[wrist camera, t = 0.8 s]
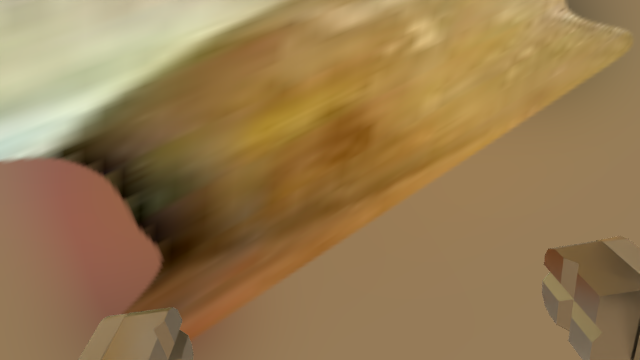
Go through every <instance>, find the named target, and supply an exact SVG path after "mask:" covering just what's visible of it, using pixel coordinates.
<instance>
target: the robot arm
mask: <svg viewBox="0 0 640 360" xmlns="http://www.w3.org/2000/svg"><path fill="white" fill-rule="evenodd" d="M544 265H545V266H546V267H547V268H548V270H549V271H550V273H549V274H548V275H547V276H546V277H545V279H544V280H543V283H542V295H543V299H544V303H545V307H546V309H547V310H548V312H549V315H550V316H551V318H552V319H553V320H554V322H555V323H556V325H559V326H561V327H562V328H564V329H566V330H568V331H570V333H569V342H570V344H571V345H572V346H573V348H574V349H575V350H576V352H577V353H578V354H579V356H580V357H581V358H582V359H583V360H640V248H639V247H638V246H637V245H635V244H634V243H633V242H632V241H630V240H629V239H627V238H624V237H622V236H618V237H612V238H607V239H601V240H596V241H594V242H587V243H581V244H575V245H568V246H562V247H556V248H550V249H548V250H547V252H546V254H545V262H544ZM181 323H182V319H181V317H180V314H179V312H178V310H177V309H175V308H173V307H172V308H164V309H156V310H149V311H141V312H134V313H129V314H121V315H114V316H108V317H106V318H104V319H103V320H102V321H101V322H100V324H99V325H98V327H97V329H96V331H95V332H94V334H93V336H92V337H91V339H90V341H89V342H88V344H87V346H86V347H85V349H84V351H83V353H82V354H81V356H80V358H79V359H78V360H193V349H192V344H191V341H190V339H189V336H188V335H187V334H185V333H184V332H182V331H181V330H179V329H180V326H181Z"/></svg>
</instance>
